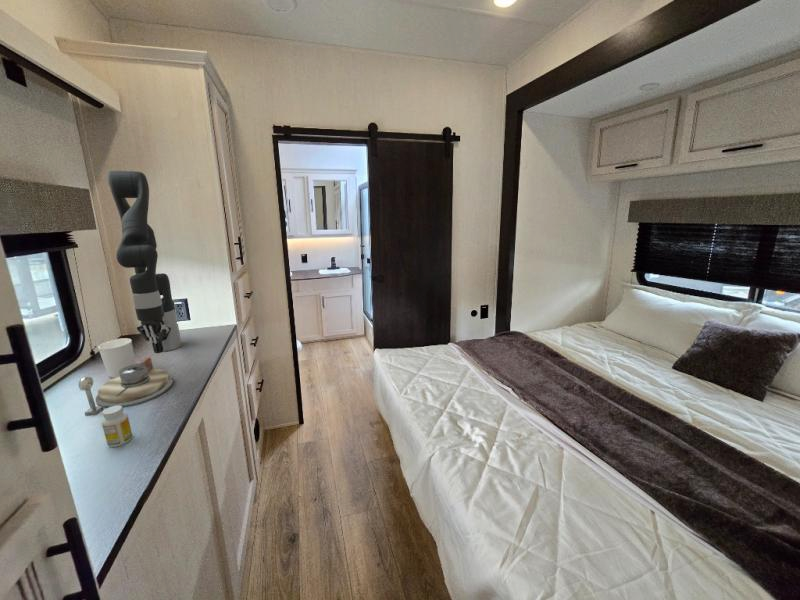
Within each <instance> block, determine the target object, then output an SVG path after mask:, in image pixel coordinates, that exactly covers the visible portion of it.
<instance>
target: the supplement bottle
mask: <svg viewBox="0 0 800 600" xmlns="http://www.w3.org/2000/svg"><path fill="white" fill-rule="evenodd" d="M123 408H124V407H122V406H119V405H117V406H112V407H109V408H104V409H103V410H102V416H103V419H102V420H101V426H102V427H101V428H102V430H103V434H104V436H105V440H106V441H105V442H106V445H107V446H108V447H110V448H111V447H112V448H116V447H119V446H123V445H125V444H127V443H129V442H130V441H131V440H132V438H133V431H132V427H131V425H130V421H129V420H130V419H129V416H128V414H127V412H126V411H125V412H124V409H123Z"/></svg>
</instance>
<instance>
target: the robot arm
mask: <svg viewBox="0 0 800 600" xmlns="http://www.w3.org/2000/svg"><path fill="white" fill-rule="evenodd" d="M107 182H108V186H109V189H110V192H111V195H112V198H113V201H114V203H115V205H116V208H117V212H118V214H119V215H118V216H119V218H120V222H121V230H122V231H121V232H122V233H121V240H120V242H119V245H118V247H117V251H116V260H117V262H118V264H119V265H120V266H121V267H123V268H127V269H129V268H130V269H132V268H133V269H134V273H135V274H134V275H131V276H130V277H129V283H130V287H131V291H132V300H133V306H134V309H135V314H136V318H137V320H138V321H140V324H141V325H140V326H139V325H138V326H136V330H137V331H138V333H140V335H141V336H142V338H144V340H145V341H146V342H149V343H150V344H151V346H152V350H153V352H154V353H155V354H160V353H162V352H169V351H173V350H176V349H179V348H181V346H182V338H181V333H180V328H179V324H178V321H177V315H176V312H175V311H176V310H175V306H174V302H173V297H172V290H171V283H170V278H169V276H168V275H167V274H166V273H157V271H156V270H157V263H158V257H159V255H158V251H157V248H158V247H157V245H158V243H157V240H156V236H155V232H154V229H153V228H152V226H150V225H149V224H148V213H149V204H150V203H149V202H150V187H149V182H148V178H147V176H146V175H145V173H144V172H141V171H135V170H132V171H131V170H110V171H108V173H107ZM127 199H136V200H135V201H134V203H133V204H132V205H130V203H129V202H128V200H127ZM161 296H162V297H161Z"/></svg>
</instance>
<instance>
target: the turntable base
mask: <svg viewBox="0 0 800 600" xmlns="http://www.w3.org/2000/svg"><path fill="white" fill-rule="evenodd" d="M168 377H169V381H168V383H167V384H166V385H165V386H164V387H163V388H161V389H160V390H158V391H156V392H155V393H152V394H150V395H148V396H145V397H142V398H139V399H136V400H132V401H127V402H120V403H107V402H103V401H101V400H100V398H99V395H98V394H97V396H95V402H96V405H97V407H98V406H103V409H107V408H109V407H112V406H117V405H119V406H122V408H127V407H131V406H136V405H140V404H143V403H146V402H148V401H151V400H153V399H155V398H158V397H160V396H161V395H162V394H164V393H166V392H168V391H169V389H170V388H171V387H172V386H173V383H174V381H173V380H174V379H173V377H172V376H171V375H170V374H168Z"/></svg>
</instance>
